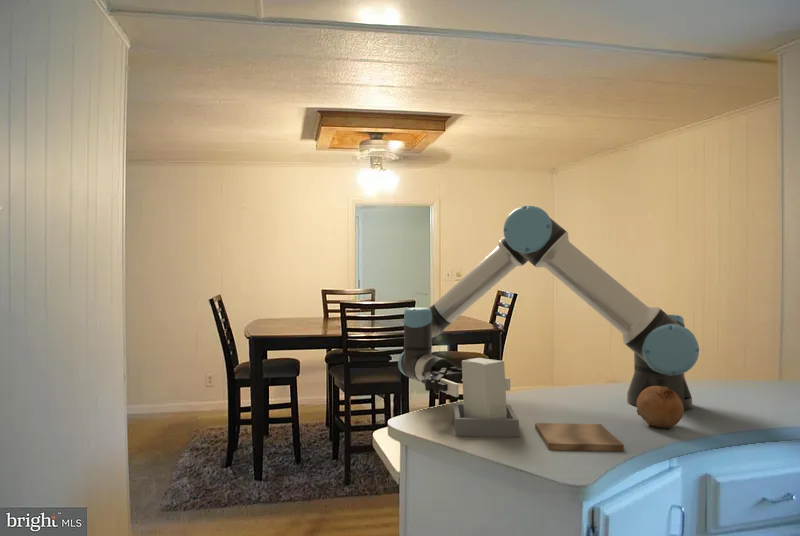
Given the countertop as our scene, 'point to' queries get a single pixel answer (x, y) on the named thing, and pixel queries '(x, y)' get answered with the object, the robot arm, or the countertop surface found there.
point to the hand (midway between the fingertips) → (483, 387)
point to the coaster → (577, 437)
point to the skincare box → (484, 388)
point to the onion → (660, 406)
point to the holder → (485, 424)
